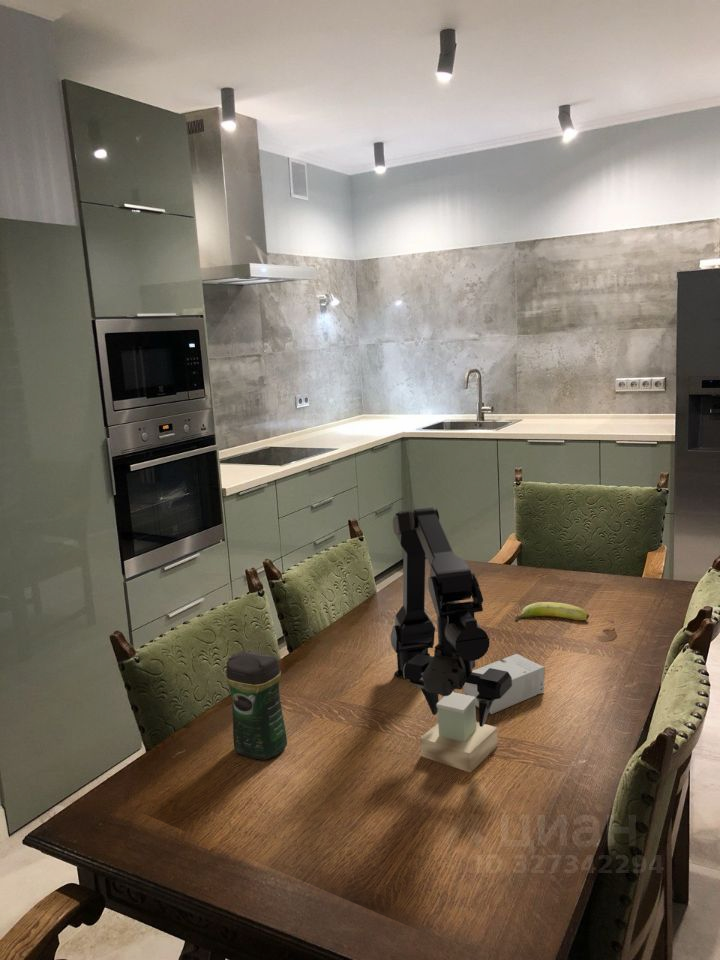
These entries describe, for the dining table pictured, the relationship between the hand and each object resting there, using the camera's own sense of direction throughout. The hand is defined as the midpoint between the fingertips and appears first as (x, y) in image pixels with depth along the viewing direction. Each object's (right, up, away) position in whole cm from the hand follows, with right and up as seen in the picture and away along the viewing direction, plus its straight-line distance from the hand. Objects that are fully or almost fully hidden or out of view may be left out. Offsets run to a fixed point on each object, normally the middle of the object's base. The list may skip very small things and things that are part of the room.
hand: (458, 719), depth 138 cm
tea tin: (0, -2, +1) cm, 2 cm away
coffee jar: (-36, -8, +6) cm, 37 cm away
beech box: (0, -6, +1) cm, 7 cm away
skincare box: (+18, +3, +24) cm, 30 cm away
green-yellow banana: (+31, +7, +60) cm, 68 cm away
